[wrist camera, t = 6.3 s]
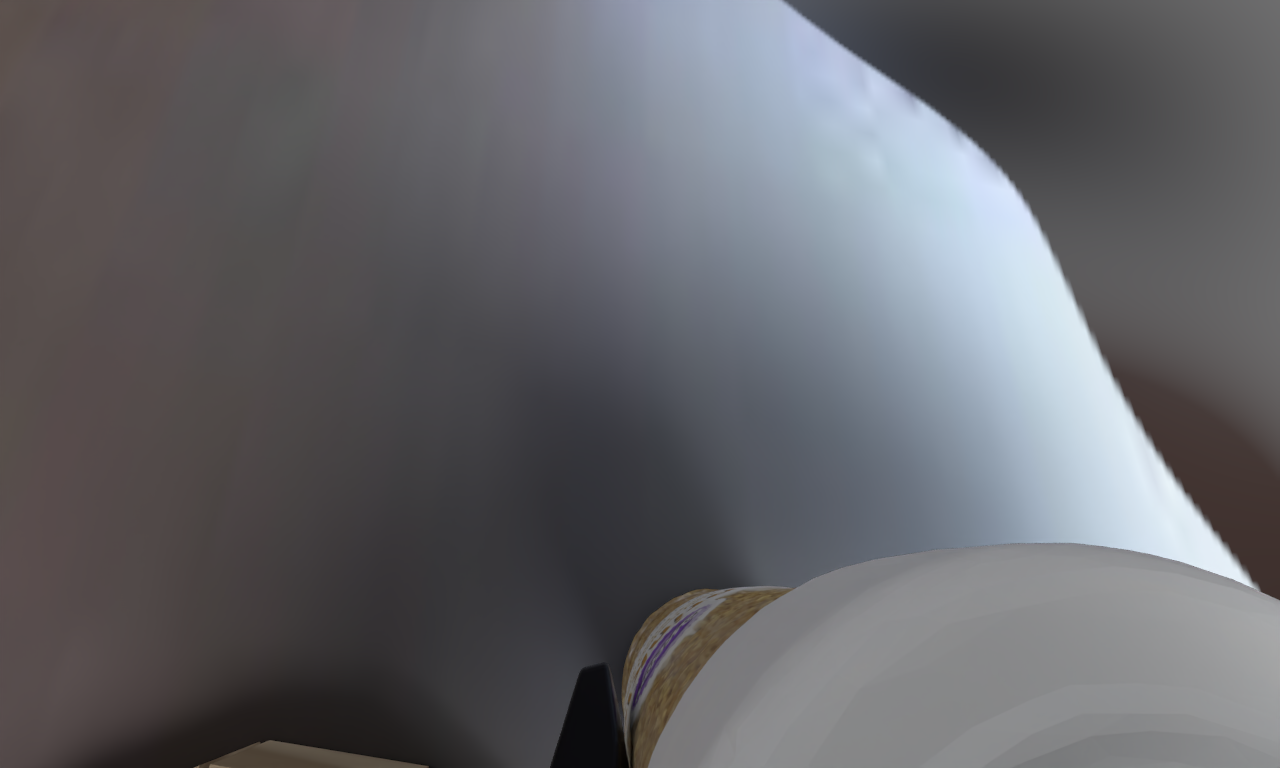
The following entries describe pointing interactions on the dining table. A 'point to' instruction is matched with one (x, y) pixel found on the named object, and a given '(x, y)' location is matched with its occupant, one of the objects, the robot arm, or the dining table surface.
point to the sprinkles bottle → (963, 667)
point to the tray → (298, 758)
